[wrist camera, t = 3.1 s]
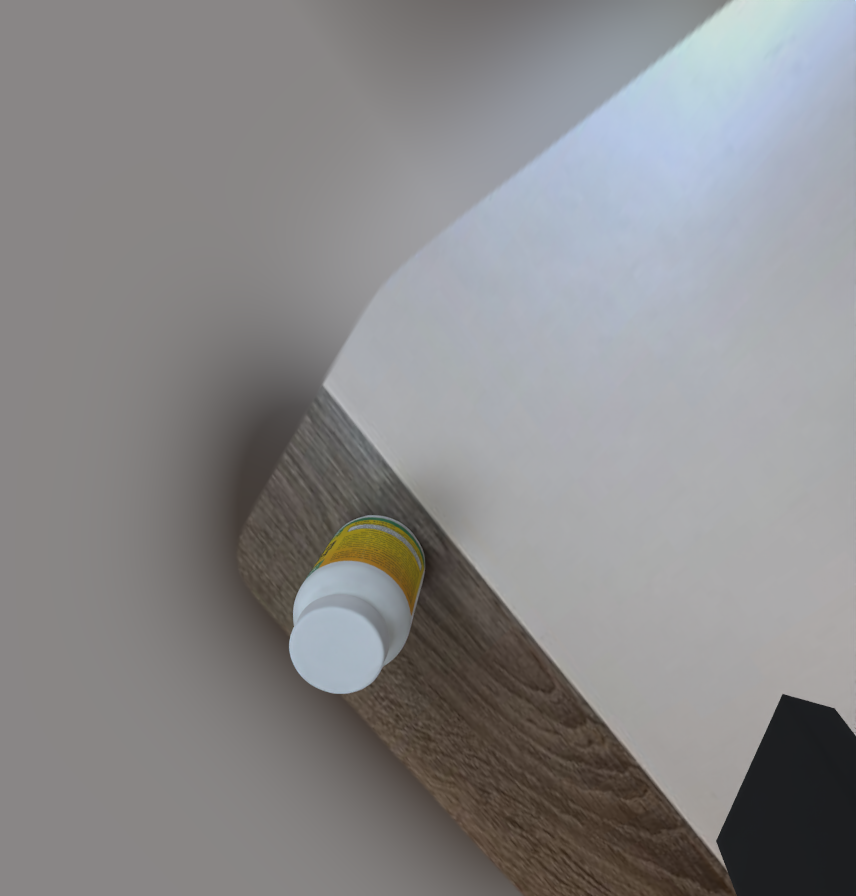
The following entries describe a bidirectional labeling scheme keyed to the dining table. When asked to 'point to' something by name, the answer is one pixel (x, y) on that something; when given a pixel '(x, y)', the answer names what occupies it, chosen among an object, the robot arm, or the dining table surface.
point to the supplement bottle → (357, 604)
